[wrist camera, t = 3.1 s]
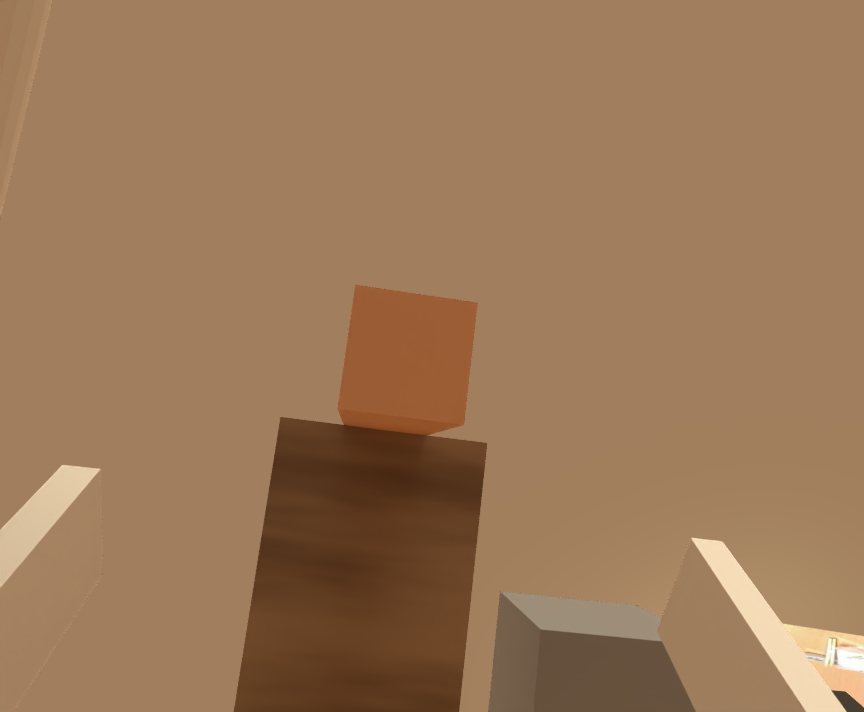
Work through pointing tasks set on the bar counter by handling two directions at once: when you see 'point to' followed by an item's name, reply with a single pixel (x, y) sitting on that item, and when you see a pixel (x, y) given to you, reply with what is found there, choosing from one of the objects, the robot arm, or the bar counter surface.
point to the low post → (581, 658)
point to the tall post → (363, 572)
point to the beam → (406, 361)
